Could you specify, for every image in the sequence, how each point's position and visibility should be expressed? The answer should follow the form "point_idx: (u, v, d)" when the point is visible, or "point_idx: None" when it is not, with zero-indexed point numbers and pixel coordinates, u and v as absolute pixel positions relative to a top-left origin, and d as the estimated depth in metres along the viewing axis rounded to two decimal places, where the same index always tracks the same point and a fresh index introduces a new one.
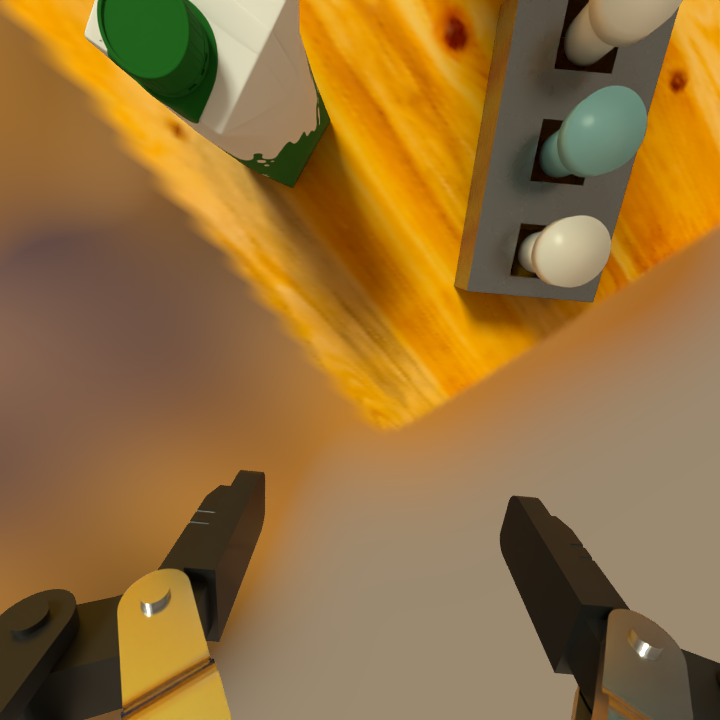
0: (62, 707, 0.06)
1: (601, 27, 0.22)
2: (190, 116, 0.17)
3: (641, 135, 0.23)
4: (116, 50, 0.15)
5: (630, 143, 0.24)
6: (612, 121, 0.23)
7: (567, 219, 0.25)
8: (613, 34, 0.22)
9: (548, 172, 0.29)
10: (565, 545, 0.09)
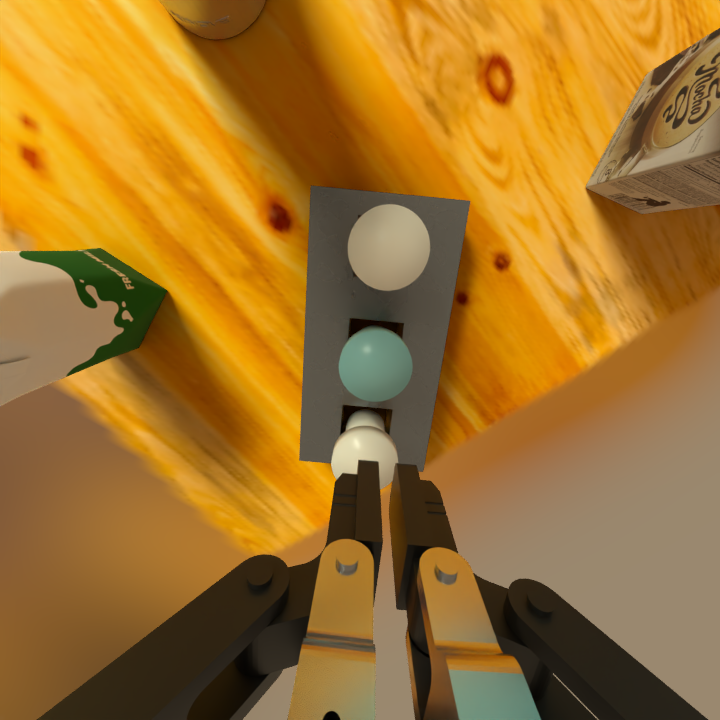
0: (284, 653, 0.07)
1: None
2: None
3: (409, 372, 0.24)
4: None
5: (399, 378, 0.24)
6: (378, 360, 0.24)
7: (351, 438, 0.26)
8: None
9: None
10: (419, 500, 0.10)
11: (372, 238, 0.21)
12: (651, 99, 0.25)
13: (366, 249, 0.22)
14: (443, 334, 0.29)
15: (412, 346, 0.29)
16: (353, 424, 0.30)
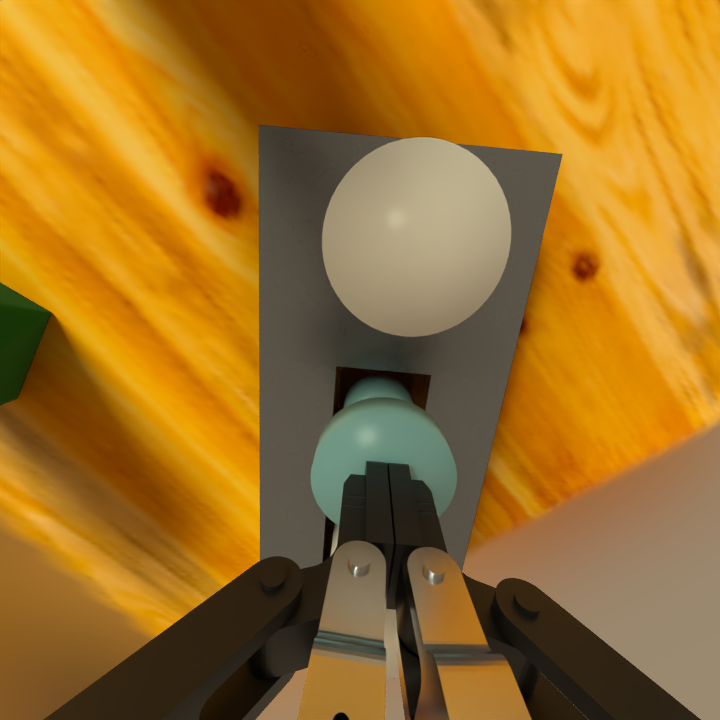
0: (297, 655, 0.07)
1: None
2: None
3: (449, 489, 0.12)
4: None
5: None
6: None
7: None
8: None
9: None
10: (410, 500, 0.10)
11: (378, 219, 0.09)
12: None
13: (364, 246, 0.10)
14: (498, 393, 0.17)
15: (444, 412, 0.17)
16: None
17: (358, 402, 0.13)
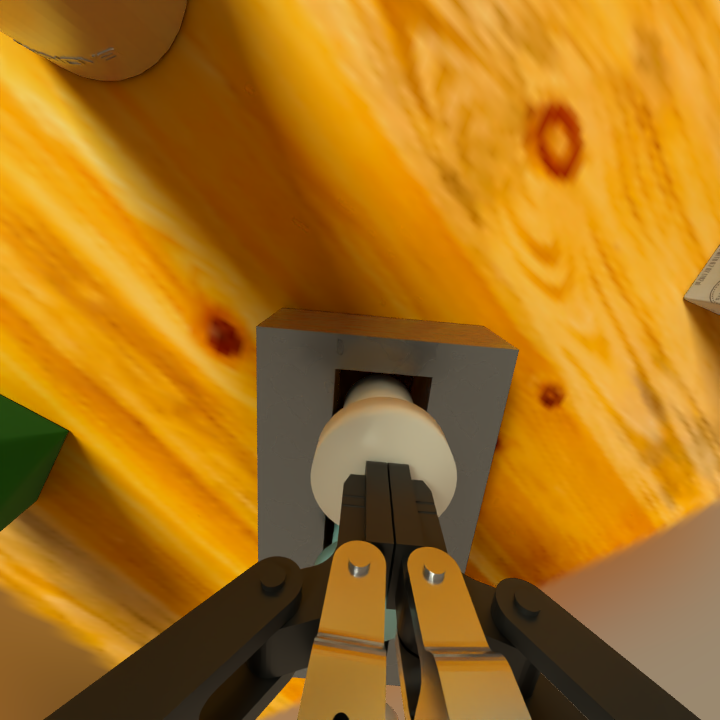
0: (297, 654, 0.07)
1: None
2: None
3: None
4: None
5: None
6: None
7: None
8: None
9: None
10: (410, 500, 0.10)
11: (354, 464, 0.12)
12: None
13: (344, 481, 0.12)
14: (469, 529, 0.19)
15: None
16: None
17: None
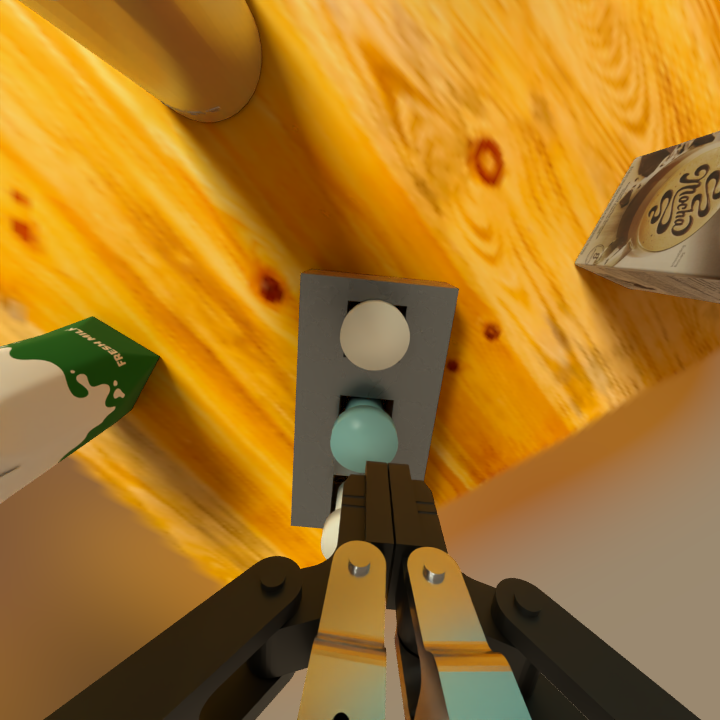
0: (297, 655, 0.07)
1: None
2: None
3: (394, 448, 0.26)
4: None
5: (386, 453, 0.26)
6: (367, 438, 0.26)
7: None
8: None
9: None
10: (410, 500, 0.10)
11: (361, 328, 0.25)
12: (638, 190, 0.25)
13: (355, 337, 0.25)
14: (432, 411, 0.29)
15: (402, 421, 0.30)
16: None
17: (352, 407, 0.27)
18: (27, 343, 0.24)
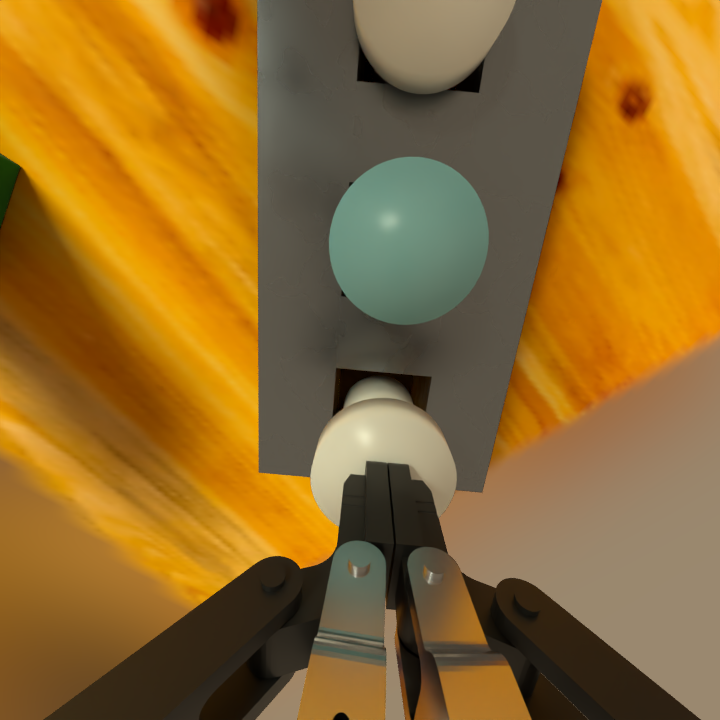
0: (298, 654, 0.07)
1: (375, 60, 0.12)
2: None
3: (480, 256, 0.11)
4: None
5: (459, 271, 0.11)
6: (415, 229, 0.11)
7: (355, 423, 0.12)
8: (395, 74, 0.12)
9: None
10: (410, 500, 0.10)
11: None
12: None
13: None
14: (541, 218, 0.14)
15: None
16: (357, 399, 0.15)
17: None
18: None
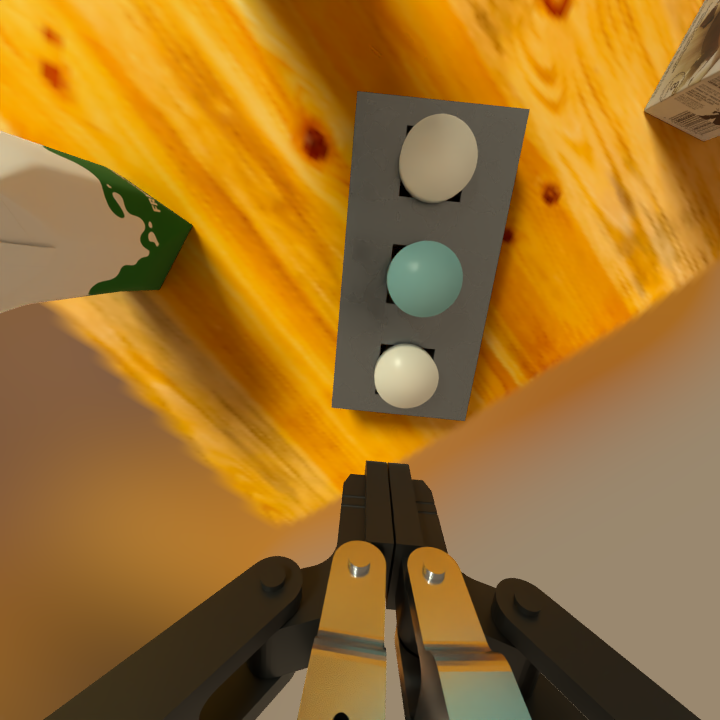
0: (297, 654, 0.07)
1: (409, 190, 0.25)
2: None
3: (458, 285, 0.24)
4: None
5: (449, 291, 0.24)
6: (428, 272, 0.24)
7: (395, 351, 0.27)
8: (419, 197, 0.24)
9: None
10: (410, 500, 0.10)
11: (424, 147, 0.23)
12: None
13: (418, 158, 0.23)
14: (493, 263, 0.27)
15: None
16: None
17: None
18: (60, 152, 0.22)
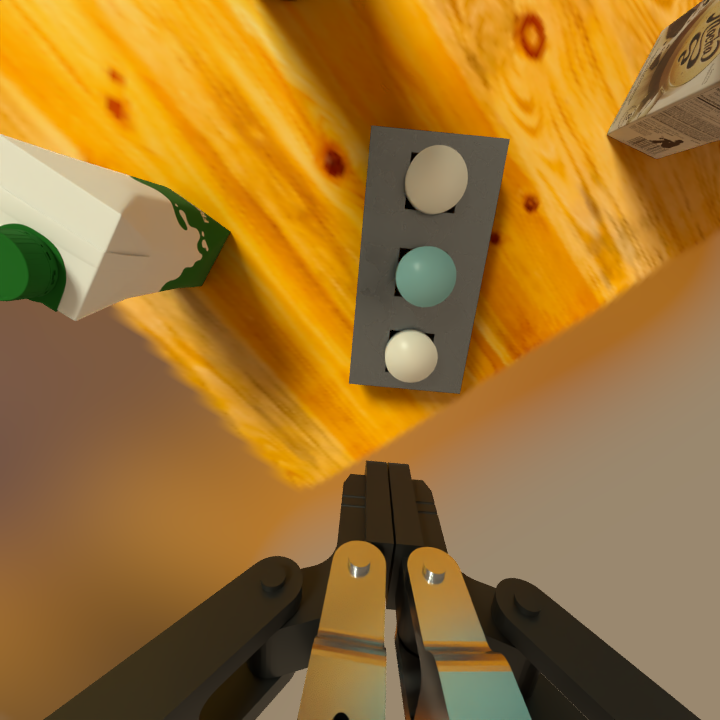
0: (297, 655, 0.07)
1: (413, 204, 0.31)
2: (50, 307, 0.22)
3: (453, 281, 0.30)
4: None
5: (445, 286, 0.30)
6: (429, 271, 0.30)
7: (402, 335, 0.33)
8: (421, 210, 0.30)
9: None
10: (410, 500, 0.10)
11: (425, 171, 0.29)
12: (667, 49, 0.29)
13: (420, 180, 0.29)
14: (482, 262, 0.33)
15: None
16: None
17: None
18: (138, 178, 0.28)
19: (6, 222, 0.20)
